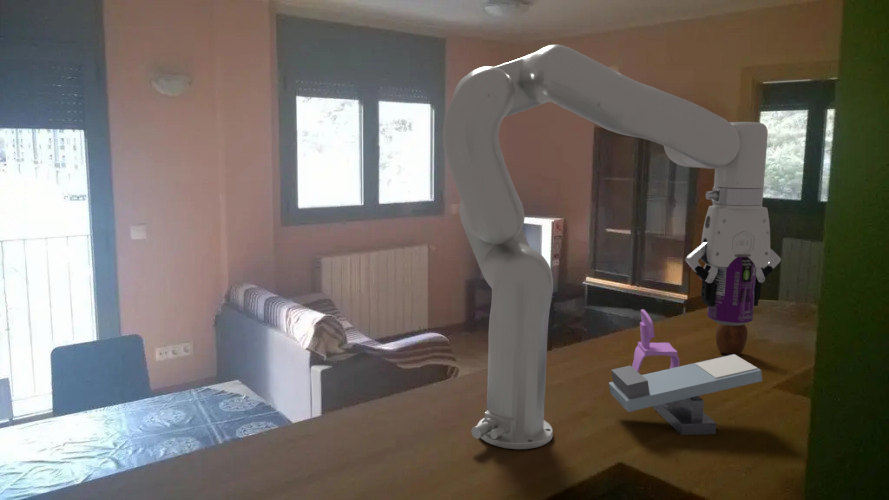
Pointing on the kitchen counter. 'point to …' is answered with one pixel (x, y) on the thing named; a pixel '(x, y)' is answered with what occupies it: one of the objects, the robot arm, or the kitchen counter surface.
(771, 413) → the kitchen counter surface
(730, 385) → the plank
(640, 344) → the toy chair
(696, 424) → the seesaw stand
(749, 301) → the beverage can
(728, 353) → the wooden figurine
